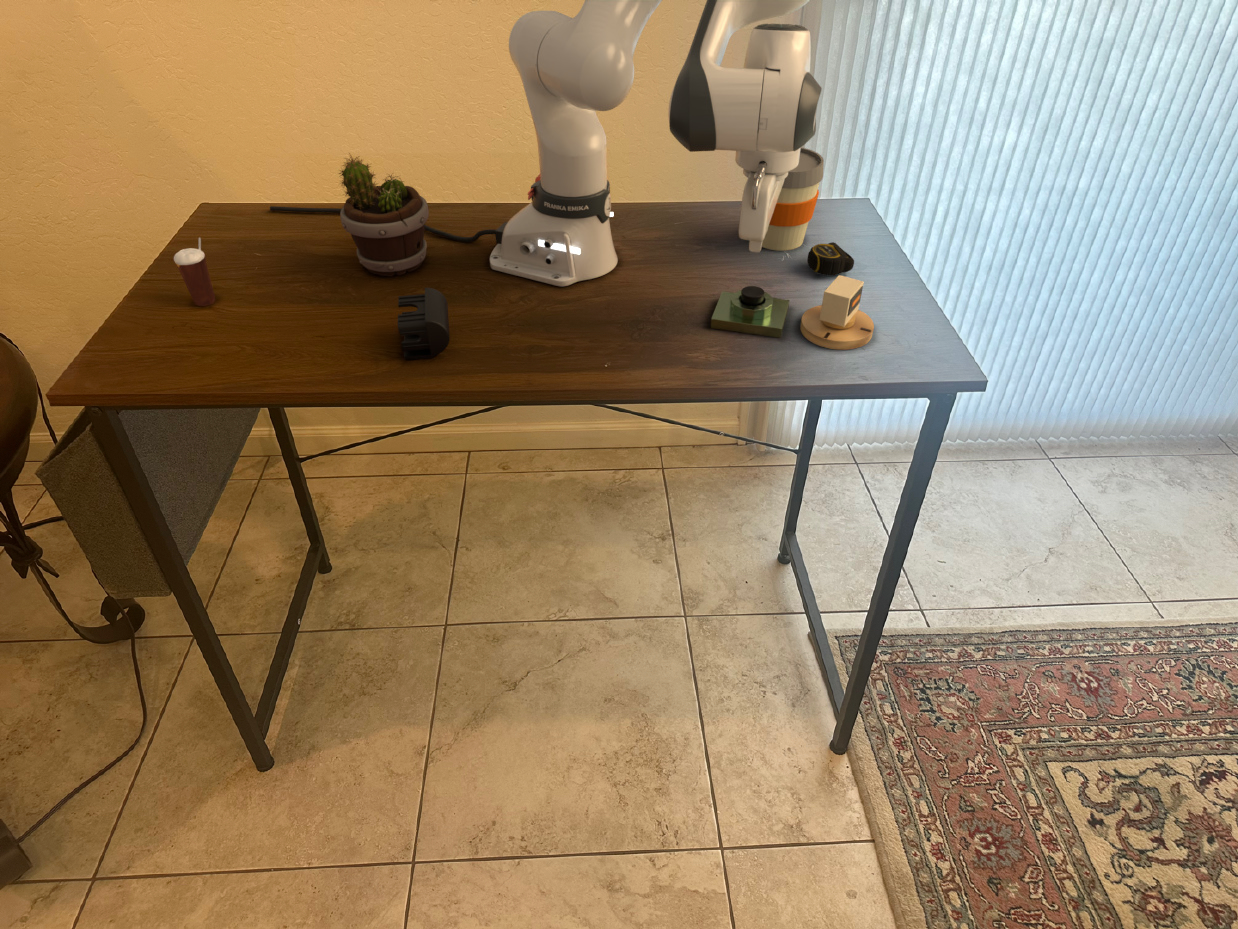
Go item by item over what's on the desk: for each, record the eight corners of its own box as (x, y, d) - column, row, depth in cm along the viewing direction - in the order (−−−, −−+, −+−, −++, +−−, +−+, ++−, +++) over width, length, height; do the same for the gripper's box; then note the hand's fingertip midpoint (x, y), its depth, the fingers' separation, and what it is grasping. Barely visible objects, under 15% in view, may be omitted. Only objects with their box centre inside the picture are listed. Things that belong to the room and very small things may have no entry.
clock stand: (858, 357, 128) (860, 348, 127) (789, 337, 132) (790, 328, 131) (881, 323, 135) (883, 314, 134) (815, 305, 140) (816, 297, 139)
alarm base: (710, 328, 135) (711, 308, 132) (721, 300, 141) (722, 281, 139) (780, 338, 132) (783, 318, 130) (788, 309, 139) (791, 289, 137)
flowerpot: (441, 242, 158) (424, 132, 145) (429, 283, 146) (410, 167, 133) (361, 244, 157) (337, 134, 144) (344, 285, 146) (316, 169, 133)
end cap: (452, 357, 129) (446, 318, 124) (404, 362, 128) (396, 323, 123) (450, 323, 136) (444, 285, 132) (405, 327, 135) (397, 289, 131)
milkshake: (229, 295, 143) (210, 240, 137) (205, 310, 140) (184, 254, 133) (209, 290, 145) (189, 234, 138) (184, 305, 141) (163, 248, 135)
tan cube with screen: (860, 316, 134) (867, 282, 130) (846, 333, 130) (852, 299, 126) (829, 307, 136) (835, 273, 132) (815, 324, 132) (820, 290, 128)
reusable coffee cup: (775, 261, 151) (785, 178, 141) (730, 235, 159) (736, 154, 149) (827, 243, 156) (840, 162, 147) (781, 218, 164) (791, 140, 155)
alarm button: (738, 305, 134) (739, 295, 133) (742, 294, 136) (743, 284, 135) (761, 308, 133) (762, 298, 132) (765, 297, 136) (766, 287, 134)
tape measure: (853, 276, 147) (857, 256, 145) (817, 282, 145) (821, 262, 143) (834, 258, 152) (837, 238, 150) (799, 264, 150) (802, 244, 148)
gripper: (780, 181, 111) (768, 277, 120) (799, 127, 126) (788, 216, 135) (732, 176, 112) (724, 271, 121) (756, 123, 127) (748, 211, 136)
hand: (758, 242), depth 128 cm, fingers open, 4 cm apart
